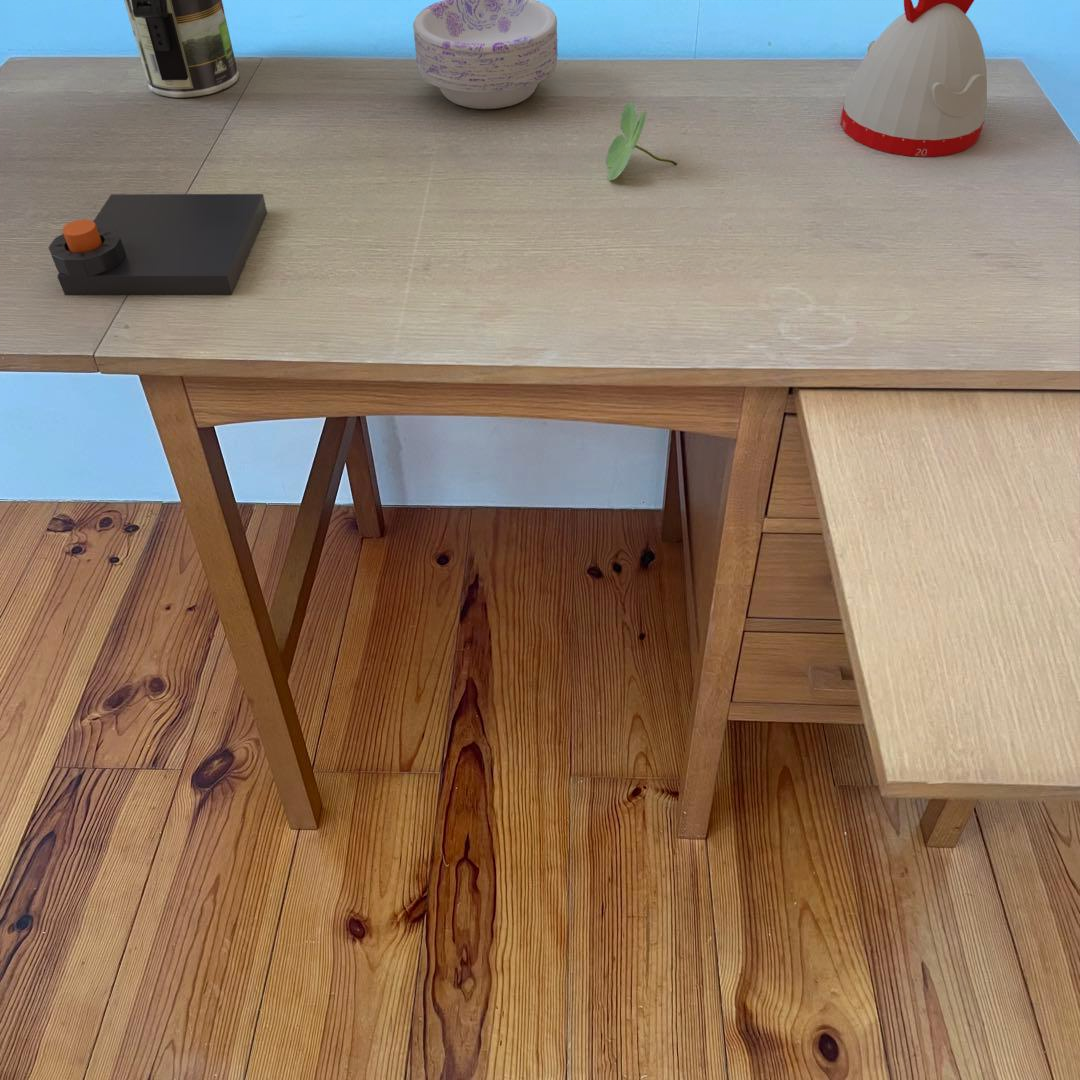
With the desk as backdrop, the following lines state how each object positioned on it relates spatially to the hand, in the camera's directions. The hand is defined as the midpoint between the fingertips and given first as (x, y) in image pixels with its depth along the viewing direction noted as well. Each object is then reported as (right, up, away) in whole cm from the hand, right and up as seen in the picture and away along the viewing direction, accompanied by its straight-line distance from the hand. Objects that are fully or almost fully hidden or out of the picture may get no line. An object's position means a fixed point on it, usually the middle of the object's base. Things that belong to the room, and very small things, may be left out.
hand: (188, 59), depth 113 cm
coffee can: (0, -2, +2) cm, 2 cm away
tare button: (+2, -30, -30) cm, 43 cm away
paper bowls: (+34, -5, -2) cm, 34 cm away
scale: (+7, -29, -25) cm, 39 cm away
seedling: (+49, -19, -15) cm, 55 cm away
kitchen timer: (+78, -11, -9) cm, 79 cm away
